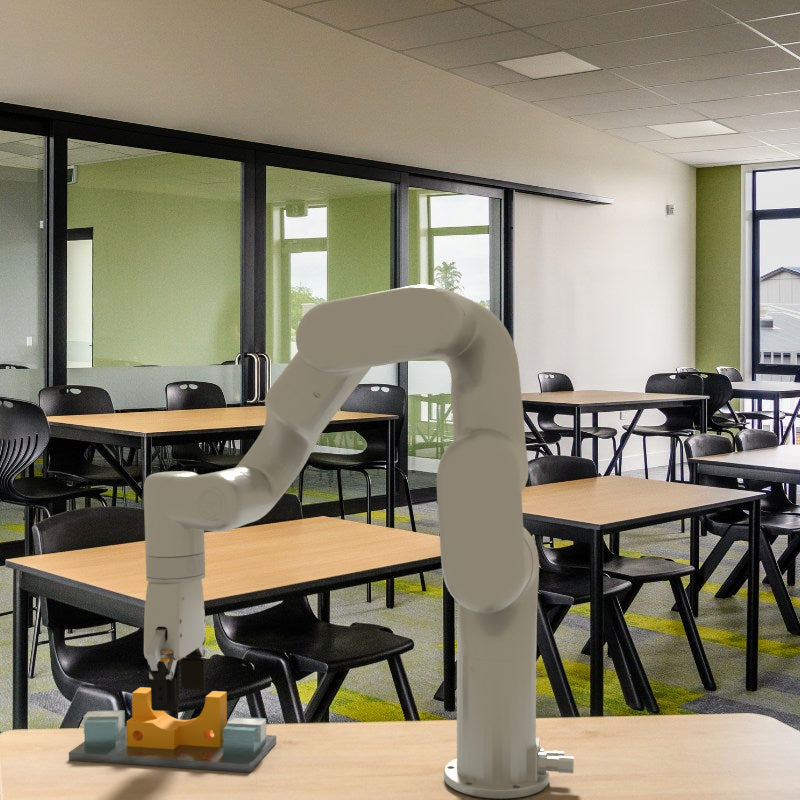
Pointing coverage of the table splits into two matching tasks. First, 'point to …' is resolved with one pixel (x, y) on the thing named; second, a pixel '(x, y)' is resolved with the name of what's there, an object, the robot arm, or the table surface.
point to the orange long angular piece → (176, 723)
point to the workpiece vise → (236, 754)
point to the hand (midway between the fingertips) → (179, 698)
